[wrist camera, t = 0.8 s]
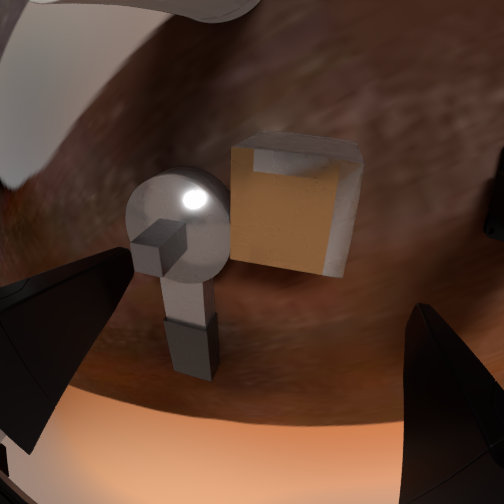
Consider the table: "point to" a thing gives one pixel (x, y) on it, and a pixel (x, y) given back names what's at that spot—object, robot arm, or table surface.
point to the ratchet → (183, 257)
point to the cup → (180, 7)
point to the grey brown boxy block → (294, 201)
